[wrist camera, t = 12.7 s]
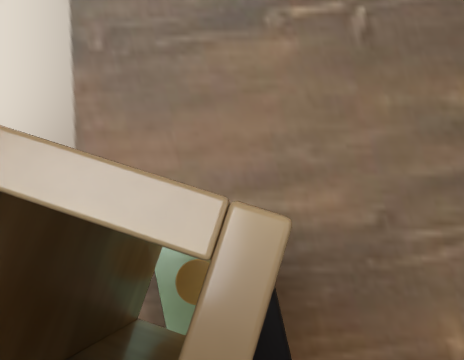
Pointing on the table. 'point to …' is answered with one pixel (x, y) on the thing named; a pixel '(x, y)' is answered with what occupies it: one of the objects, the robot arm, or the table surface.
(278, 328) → the robot arm
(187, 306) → the coat peg
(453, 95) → the table surface
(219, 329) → the square pencil holder
